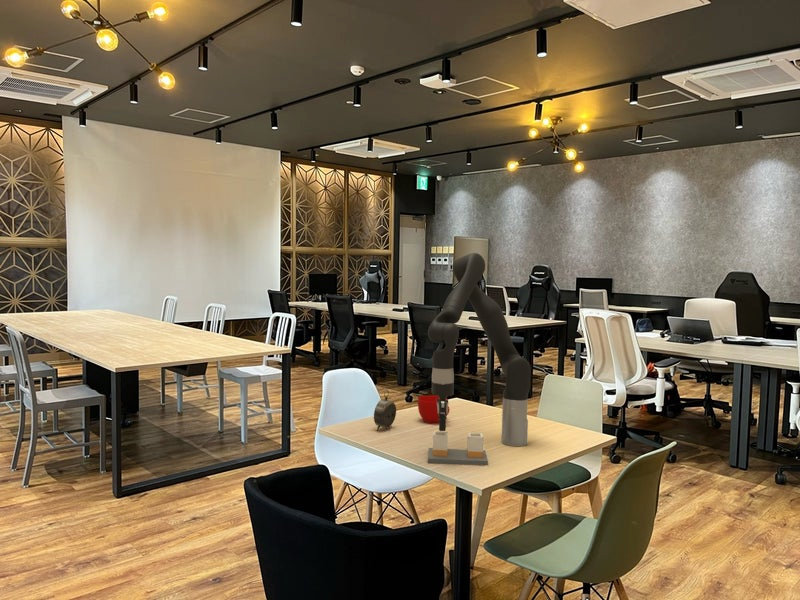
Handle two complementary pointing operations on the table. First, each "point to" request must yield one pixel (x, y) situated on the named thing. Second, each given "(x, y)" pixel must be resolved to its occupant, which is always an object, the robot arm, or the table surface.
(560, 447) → the table surface
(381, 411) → the alarm clock
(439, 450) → the sleeve
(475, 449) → the pin board
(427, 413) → the ceramic cup
